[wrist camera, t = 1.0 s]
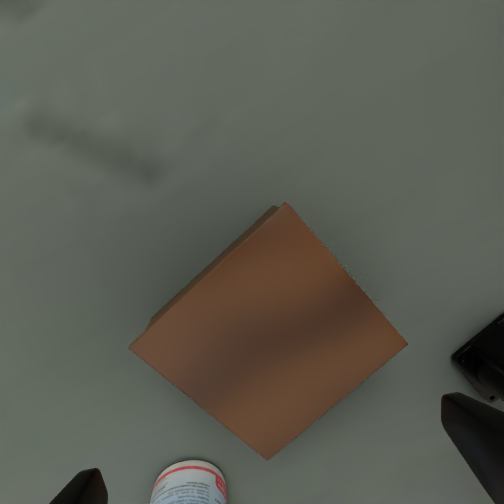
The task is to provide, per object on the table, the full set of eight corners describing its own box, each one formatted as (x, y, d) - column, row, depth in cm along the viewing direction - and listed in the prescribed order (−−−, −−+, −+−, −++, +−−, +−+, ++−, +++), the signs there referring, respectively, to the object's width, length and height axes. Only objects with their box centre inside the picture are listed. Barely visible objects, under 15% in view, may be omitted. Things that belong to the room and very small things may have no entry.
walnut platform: (376, 317, 23) (408, 344, 19) (259, 416, 24) (267, 461, 20) (274, 198, 20) (286, 202, 16) (145, 317, 21) (128, 347, 17)
